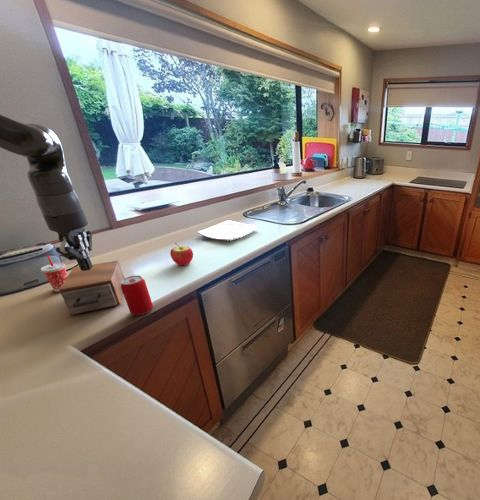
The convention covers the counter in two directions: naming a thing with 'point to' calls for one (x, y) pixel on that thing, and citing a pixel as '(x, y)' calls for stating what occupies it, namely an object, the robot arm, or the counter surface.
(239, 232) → the plate
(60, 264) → the beverage cup
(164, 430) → the counter surface
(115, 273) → the cabinet
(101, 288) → the drawer
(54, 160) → the robot arm
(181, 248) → the apple
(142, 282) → the beverage can
